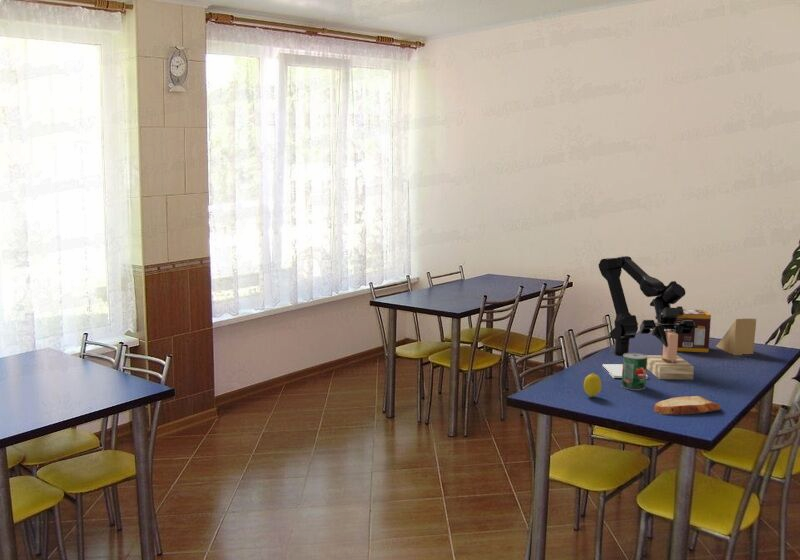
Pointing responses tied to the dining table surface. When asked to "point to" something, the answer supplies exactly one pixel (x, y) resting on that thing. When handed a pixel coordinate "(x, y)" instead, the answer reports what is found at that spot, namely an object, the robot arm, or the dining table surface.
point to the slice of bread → (686, 405)
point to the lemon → (592, 384)
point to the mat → (615, 370)
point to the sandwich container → (739, 337)
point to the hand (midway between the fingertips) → (671, 346)
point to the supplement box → (695, 331)
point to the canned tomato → (634, 371)
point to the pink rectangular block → (670, 345)
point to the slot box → (669, 368)
